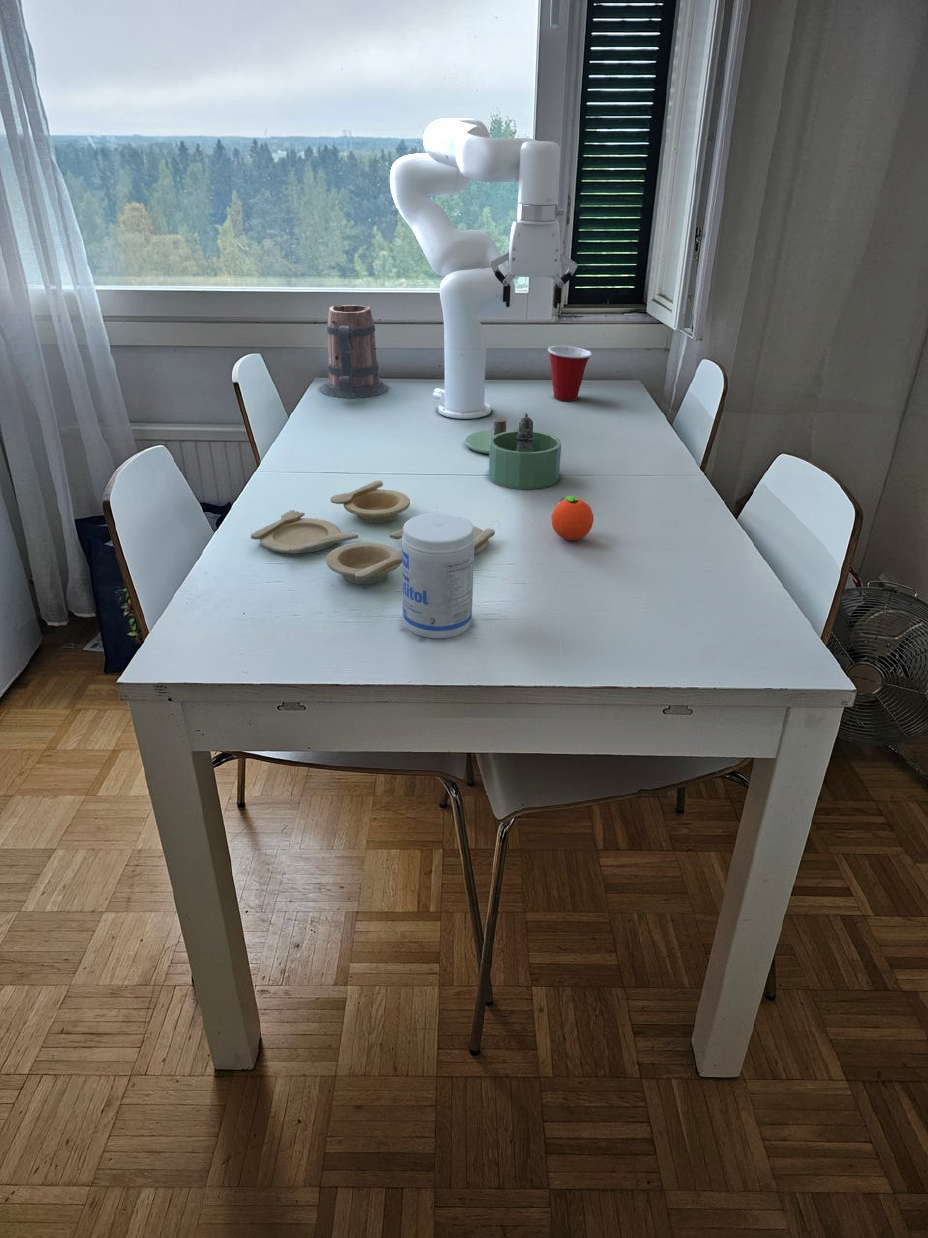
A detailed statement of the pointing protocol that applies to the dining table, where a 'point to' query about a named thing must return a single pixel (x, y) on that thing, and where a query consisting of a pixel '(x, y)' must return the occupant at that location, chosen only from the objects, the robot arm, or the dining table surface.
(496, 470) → the bowl
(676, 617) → the dining table surface
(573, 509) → the clementine
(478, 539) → the tableware set
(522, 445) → the salt shaker
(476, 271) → the robot arm
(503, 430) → the lid
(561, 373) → the plastic cup
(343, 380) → the tankard
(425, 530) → the supplement tub
